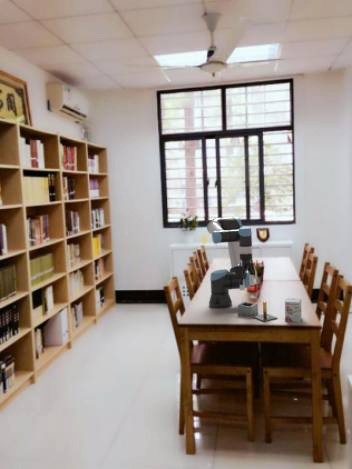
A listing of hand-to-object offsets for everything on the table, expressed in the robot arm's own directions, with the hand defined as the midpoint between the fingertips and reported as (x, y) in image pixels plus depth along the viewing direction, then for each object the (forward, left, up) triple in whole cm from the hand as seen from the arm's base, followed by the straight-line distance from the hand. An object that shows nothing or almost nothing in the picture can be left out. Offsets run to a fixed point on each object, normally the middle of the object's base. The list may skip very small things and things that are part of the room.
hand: (247, 287), depth 266 cm
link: (0, 0, -16) cm, 16 cm away
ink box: (+24, +14, -17) cm, 33 cm away
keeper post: (+13, +3, -16) cm, 21 cm away
